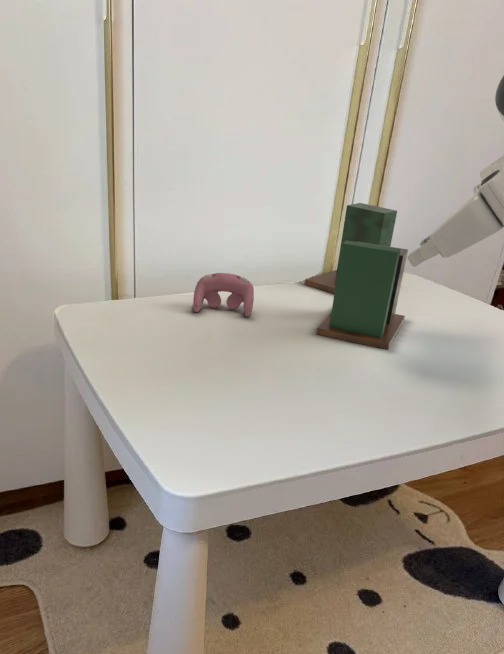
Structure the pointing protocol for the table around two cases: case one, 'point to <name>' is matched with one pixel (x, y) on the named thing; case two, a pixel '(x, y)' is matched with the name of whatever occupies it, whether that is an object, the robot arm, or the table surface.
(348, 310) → the green book
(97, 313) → the table surface
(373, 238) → the green bookend
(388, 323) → the wooden bookend
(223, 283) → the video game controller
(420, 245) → the robot arm
